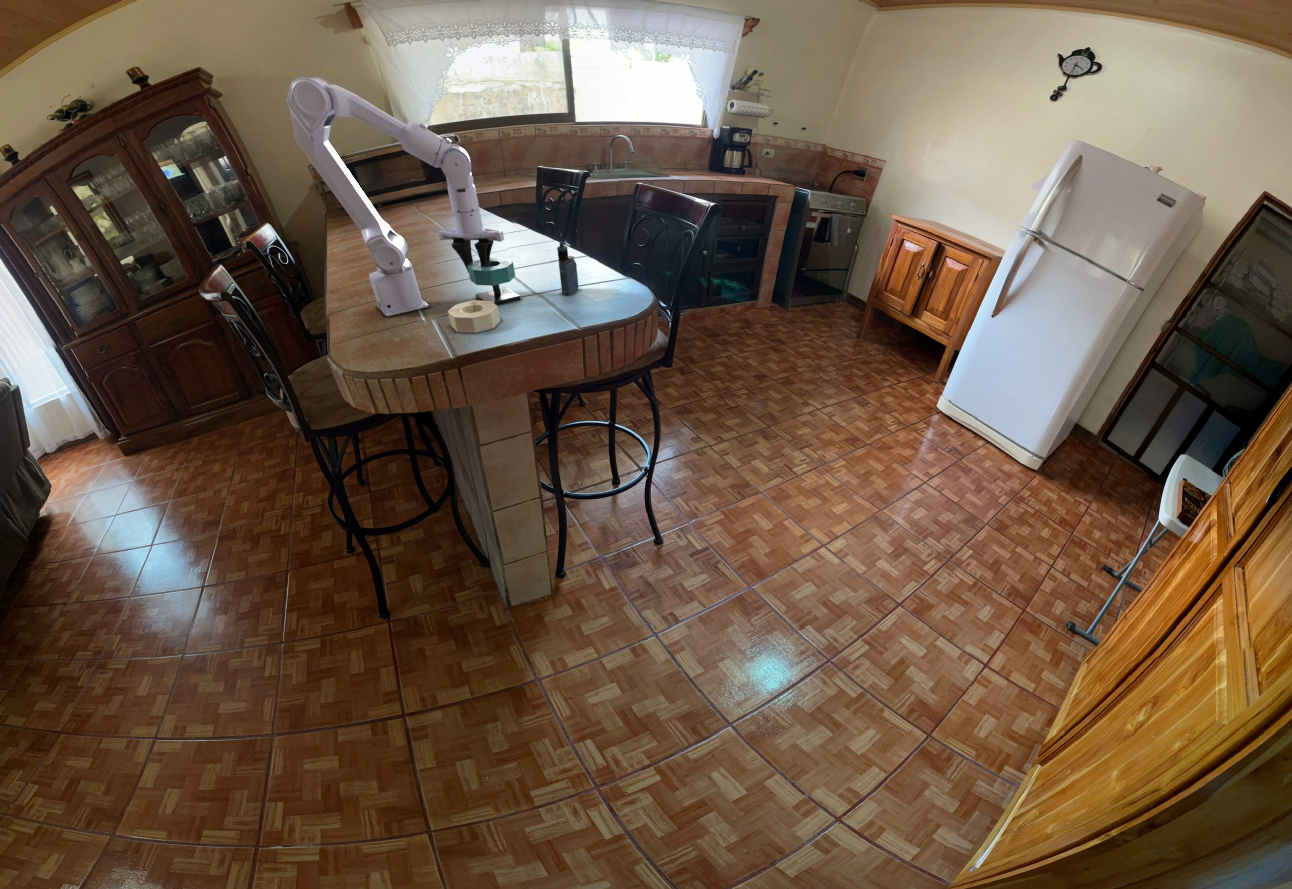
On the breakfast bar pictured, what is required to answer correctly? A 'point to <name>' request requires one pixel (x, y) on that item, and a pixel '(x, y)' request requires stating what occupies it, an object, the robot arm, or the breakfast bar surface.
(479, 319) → the cream ring
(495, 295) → the peg stand
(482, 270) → the teal ring
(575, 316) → the breakfast bar surface
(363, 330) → the breakfast bar surface
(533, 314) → the breakfast bar surface
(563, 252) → the vaping device
